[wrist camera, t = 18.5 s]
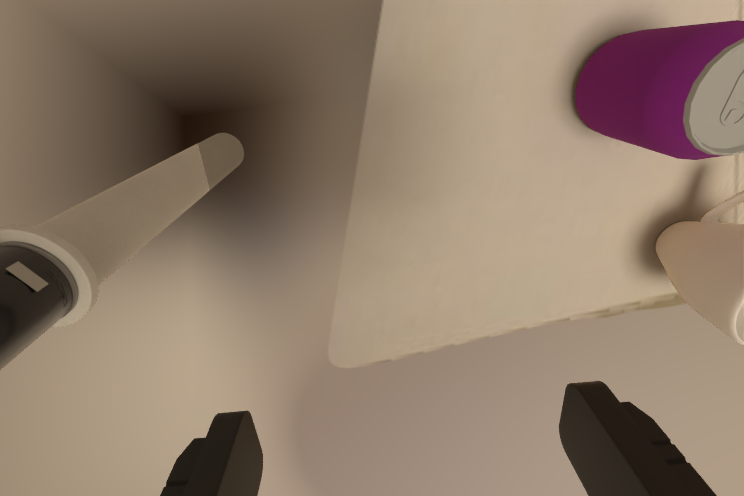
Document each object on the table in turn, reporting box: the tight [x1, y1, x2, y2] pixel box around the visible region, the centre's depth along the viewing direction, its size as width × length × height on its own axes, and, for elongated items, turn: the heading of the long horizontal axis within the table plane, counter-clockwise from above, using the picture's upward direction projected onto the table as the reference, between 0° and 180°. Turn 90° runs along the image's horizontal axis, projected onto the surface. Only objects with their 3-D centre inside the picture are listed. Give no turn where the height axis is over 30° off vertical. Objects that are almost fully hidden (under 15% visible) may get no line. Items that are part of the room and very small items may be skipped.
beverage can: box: [576, 20, 744, 160], centre depth 26 cm, size 8×8×12 cm
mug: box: [656, 191, 744, 346], centre depth 32 cm, size 12×8×11 cm
